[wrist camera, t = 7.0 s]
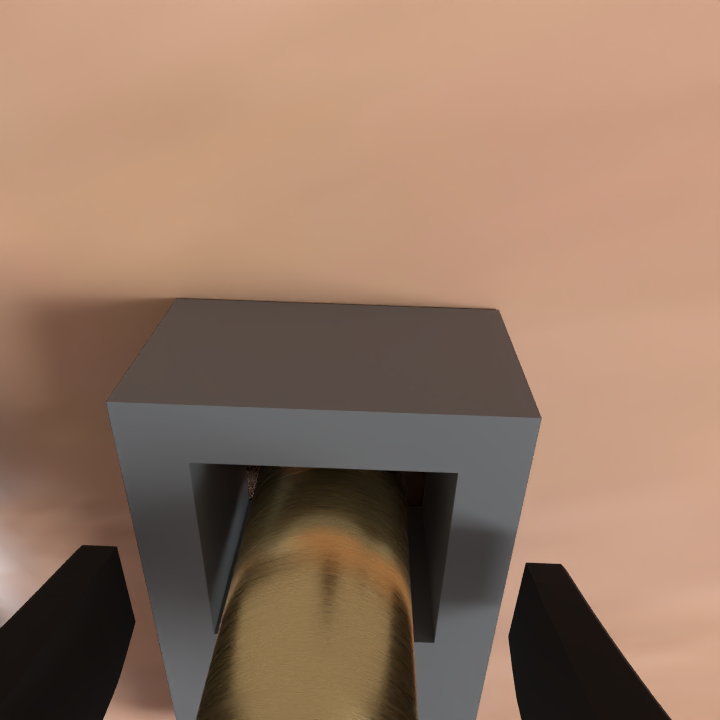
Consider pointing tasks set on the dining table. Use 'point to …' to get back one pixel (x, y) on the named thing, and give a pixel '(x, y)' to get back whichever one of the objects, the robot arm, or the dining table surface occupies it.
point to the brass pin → (318, 603)
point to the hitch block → (327, 461)
